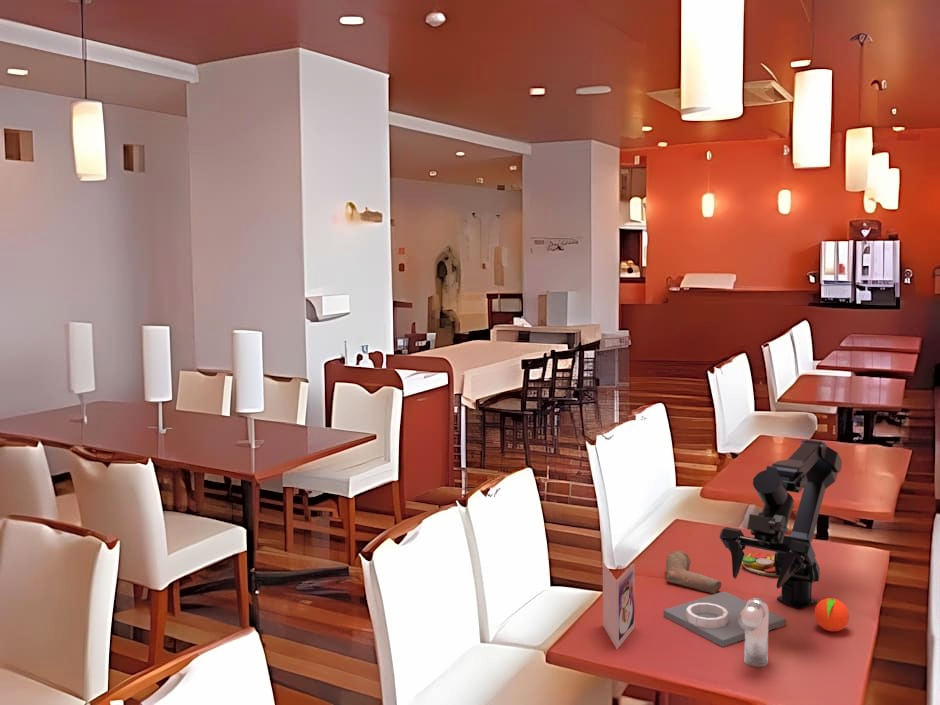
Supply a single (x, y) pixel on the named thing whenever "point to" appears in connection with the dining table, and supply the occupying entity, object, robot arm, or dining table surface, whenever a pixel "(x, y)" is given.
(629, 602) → the greeting card
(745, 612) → the chrome ball-end rod
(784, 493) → the robot arm
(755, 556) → the toy food set
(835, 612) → the clementine
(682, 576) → the pipe
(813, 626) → the dining table surface
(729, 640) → the duct flange
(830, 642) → the dining table surface
